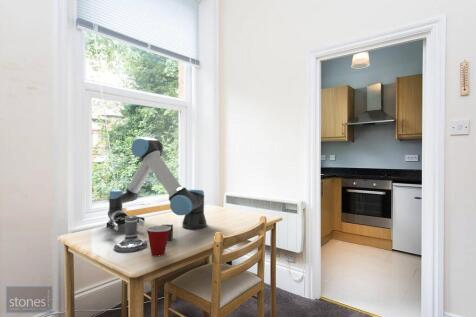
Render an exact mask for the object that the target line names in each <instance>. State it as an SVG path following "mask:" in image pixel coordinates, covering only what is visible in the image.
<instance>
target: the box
mask: <svg viewBox="0 0 476 317" xmlns="http://www.w3.org/2000/svg"><path fill="white" fill-rule="evenodd" d="M160 226H168V227H171V229H170V231H169V234H168V239H167V241H168V242H169V241H170V242H172V240H173V238H174V224H161V225H160Z"/></svg>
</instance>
